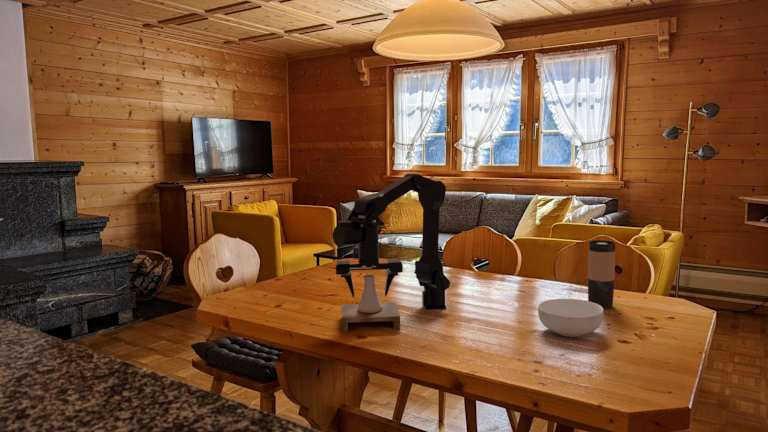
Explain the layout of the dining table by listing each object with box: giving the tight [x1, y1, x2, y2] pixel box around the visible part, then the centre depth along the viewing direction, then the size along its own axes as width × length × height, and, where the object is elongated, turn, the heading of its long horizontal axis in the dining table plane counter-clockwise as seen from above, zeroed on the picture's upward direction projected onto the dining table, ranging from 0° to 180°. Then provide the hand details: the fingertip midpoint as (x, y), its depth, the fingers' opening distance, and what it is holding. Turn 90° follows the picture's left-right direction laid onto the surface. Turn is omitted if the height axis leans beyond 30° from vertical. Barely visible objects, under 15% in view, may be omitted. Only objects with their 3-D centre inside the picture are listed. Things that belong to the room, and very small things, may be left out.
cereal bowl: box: [537, 298, 605, 338], centre depth 153 cm, size 17×17×7 cm
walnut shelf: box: [341, 302, 401, 334], centre depth 163 cm, size 16×14×4 cm
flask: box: [357, 274, 383, 313], centre depth 162 cm, size 7×7×10 cm
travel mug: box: [587, 239, 616, 310], centre depth 176 cm, size 8×8×20 cm
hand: (369, 296), depth 163 cm, fingers open, 9 cm apart
